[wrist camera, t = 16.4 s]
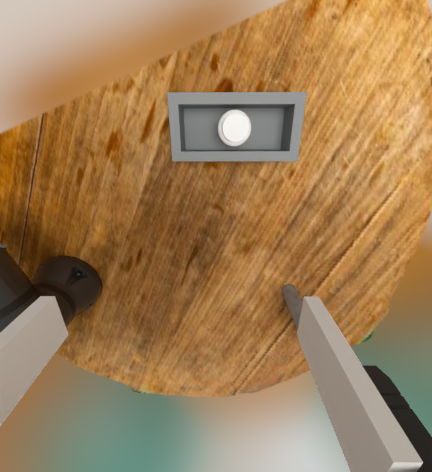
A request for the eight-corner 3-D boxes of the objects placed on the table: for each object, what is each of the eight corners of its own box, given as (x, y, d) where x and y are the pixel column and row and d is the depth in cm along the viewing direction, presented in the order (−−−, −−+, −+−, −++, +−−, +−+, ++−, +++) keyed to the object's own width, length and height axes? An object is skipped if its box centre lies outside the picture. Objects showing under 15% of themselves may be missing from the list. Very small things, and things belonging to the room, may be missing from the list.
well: (178, 157, 46) (172, 161, 39) (174, 99, 42) (167, 92, 35) (286, 157, 46) (297, 161, 39) (293, 98, 42) (306, 91, 35)
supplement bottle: (239, 149, 44) (245, 152, 35) (213, 138, 43) (212, 139, 35) (250, 120, 42) (259, 116, 33) (223, 108, 41) (225, 100, 33)
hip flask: (313, 323, 63) (352, 400, 45) (299, 329, 64) (332, 406, 46) (291, 282, 58) (326, 350, 39) (277, 288, 59) (304, 358, 40)
